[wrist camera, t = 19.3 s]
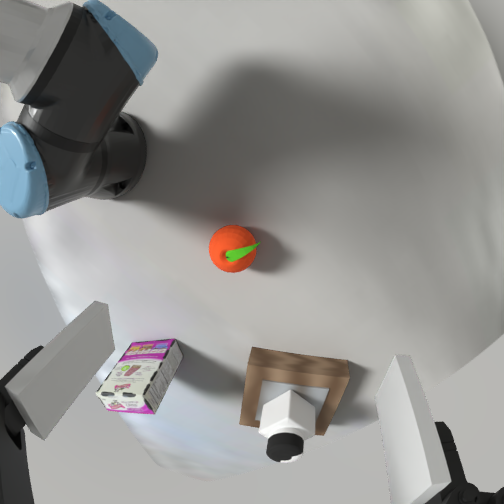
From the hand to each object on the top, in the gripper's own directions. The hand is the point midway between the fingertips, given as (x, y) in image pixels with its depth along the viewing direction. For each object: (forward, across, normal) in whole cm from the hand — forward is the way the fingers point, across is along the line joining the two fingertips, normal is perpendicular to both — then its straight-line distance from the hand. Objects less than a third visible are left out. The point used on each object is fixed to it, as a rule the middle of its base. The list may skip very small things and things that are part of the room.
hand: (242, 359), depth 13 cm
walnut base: (+35, +7, -36) cm, 50 cm away
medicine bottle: (+30, +7, -36) cm, 47 cm away
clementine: (+35, -6, -7) cm, 36 cm away
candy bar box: (+35, -21, -33) cm, 52 cm away
